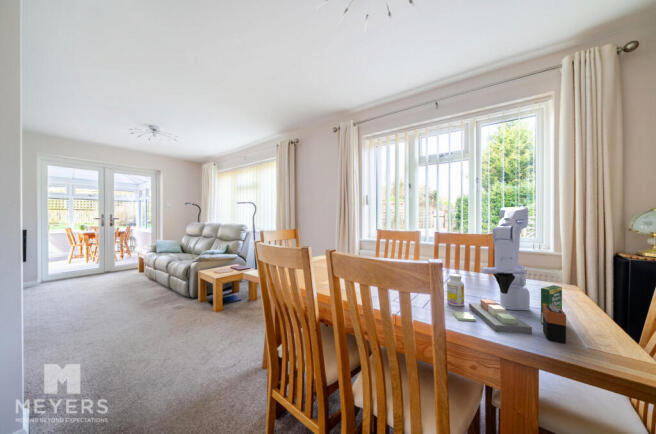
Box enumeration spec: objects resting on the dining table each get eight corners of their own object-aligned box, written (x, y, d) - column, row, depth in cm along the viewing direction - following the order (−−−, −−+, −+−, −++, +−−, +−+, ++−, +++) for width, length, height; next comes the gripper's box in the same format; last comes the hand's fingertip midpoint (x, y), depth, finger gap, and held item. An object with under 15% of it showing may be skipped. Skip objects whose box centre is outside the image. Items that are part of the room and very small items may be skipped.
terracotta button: (491, 306, 96) (491, 299, 96) (496, 310, 92) (496, 303, 92) (480, 306, 96) (480, 299, 96) (485, 310, 92) (485, 302, 92)
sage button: (509, 322, 84) (509, 314, 84) (516, 327, 80) (516, 318, 80) (496, 321, 85) (496, 313, 85) (503, 326, 81) (503, 318, 81)
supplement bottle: (459, 301, 106) (459, 273, 106) (467, 307, 100) (467, 277, 100) (444, 300, 107) (444, 272, 107) (450, 306, 101) (450, 276, 100)
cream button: (499, 312, 90) (499, 305, 90) (505, 317, 86) (505, 309, 86) (488, 312, 90) (488, 304, 90) (493, 316, 87) (493, 308, 87)
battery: (547, 340, 73) (547, 308, 73) (542, 331, 79) (542, 301, 79) (566, 344, 71) (566, 311, 71) (560, 335, 76) (560, 304, 76)
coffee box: (549, 327, 82) (549, 289, 82) (539, 323, 84) (539, 287, 84) (563, 323, 85) (563, 287, 85) (553, 319, 87) (553, 284, 87)
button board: (497, 309, 97) (497, 304, 97) (531, 333, 78) (531, 327, 78) (469, 307, 99) (469, 303, 99) (495, 331, 79) (495, 325, 79)
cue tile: (468, 314, 92) (468, 312, 92) (476, 321, 87) (476, 319, 87) (452, 313, 93) (452, 311, 93) (458, 320, 87) (458, 318, 87)
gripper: (488, 258, 87) (488, 295, 87) (532, 259, 84) (532, 297, 85) (479, 255, 94) (479, 289, 94) (519, 256, 91) (519, 291, 92)
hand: (503, 292), depth 90 cm, fingers closed
